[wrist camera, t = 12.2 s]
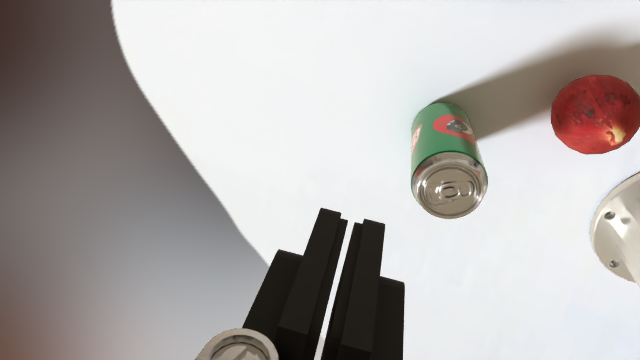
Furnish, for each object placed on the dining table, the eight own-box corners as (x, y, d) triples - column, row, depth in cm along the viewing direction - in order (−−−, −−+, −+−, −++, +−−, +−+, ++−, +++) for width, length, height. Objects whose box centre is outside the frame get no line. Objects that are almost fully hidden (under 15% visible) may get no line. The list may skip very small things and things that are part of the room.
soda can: (405, 108, 39) (402, 166, 28) (464, 94, 37) (483, 149, 27) (418, 158, 41) (419, 229, 30) (473, 146, 39) (495, 217, 29)
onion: (525, 100, 36) (551, 135, 29) (588, 49, 34) (633, 74, 27) (568, 145, 37) (604, 189, 30) (634, 99, 35) (688, 136, 28)
